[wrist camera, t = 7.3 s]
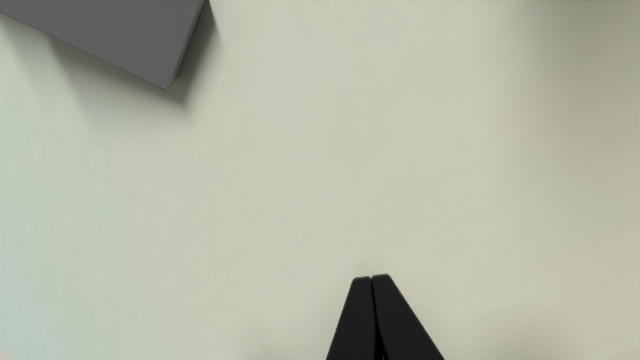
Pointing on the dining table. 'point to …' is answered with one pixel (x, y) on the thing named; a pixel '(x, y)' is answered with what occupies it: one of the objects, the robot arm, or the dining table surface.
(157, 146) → the dining table surface
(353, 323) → the robot arm
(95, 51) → the domino
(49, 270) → the dining table surface
